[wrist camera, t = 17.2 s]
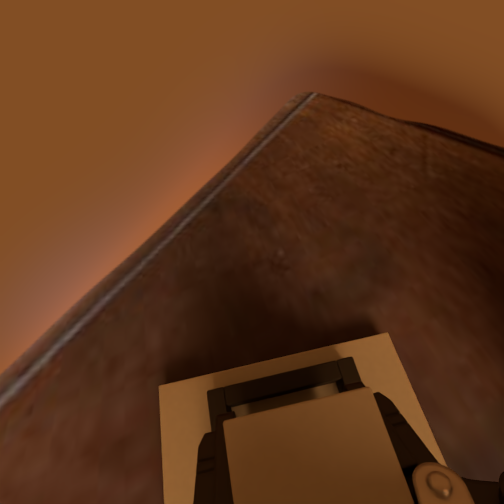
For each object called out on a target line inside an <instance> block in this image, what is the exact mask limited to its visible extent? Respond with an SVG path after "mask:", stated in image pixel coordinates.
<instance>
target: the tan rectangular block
mask: <svg viewBox="0 0 504 504" xmlns="http://www.w3.org/2000/svg"><path fill="white" fill-rule="evenodd" d="M223 428H224V436H225V443H226V450H227V458H228V465H229V472H230V480H231V487H232V494H233V502H234V504H414V501H413V498H412V496H411V493H410V490H409V488H408V485H407V482H406V480H405V477H404V474H403V472H402V469H401V466H400V464H399V461H398V459H397V456H396V453H395V451H394V448H393V445H392V443H391V440H390V437H389V435H388V432H387V429H386V427H385V424H384V421H383V419H382V416H381V413H380V411H379V408H378V405H377V403H376V400H375V397H374V395H373V392H372V389H371V388H370V387H368V386H367V387H363V388H359V389H355V390H350V391H346V392H342V393H338V394H334V395H330V396H325V397H321V398H317V399H313V400H309V401H304V402H300V403H296V404H292V405H288V406H283V407H279V408H275V409H271V410H267V411H262V412H258V413H254V414H250V415H246V416H242V417H237V418H233V419H229V420H225V421H224V422H223Z"/></svg>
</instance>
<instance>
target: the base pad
mask: <svg viewBox="0 0 504 504" xmlns="http://www.w3.org/2000/svg"><path fill="white" fill-rule="evenodd" d="M359 381H361V382H363V384H364V385H365V387H367V386H368V387H370V388H371V389H372V392H373V393H376V392H380V393H381V394H383V395H384V396H386V397H387V398H389V399H390V400H391V401H392V402H393V403H394V405H395V406H396V407H397V409H398V410H399V411H400V414H402V415H403V416H404V418H405V419H406V420H407V423H409V424H410V426H411V427H412V428H413V430H414V431H415V432H416V434H417V435H418V436H419V438H420V439H421V440H422V441H423V443H424V444H425V445H426V447H427V448H428V449H429V451H430V452H431V453H432V455H433V456H434V457H435V459H436V460H437V461H438V462H439V463H440V464H442V465H444V466H446V467H447V465H446V463H445V461H444V459H443V456H442V454H441V452H440V450H439V447H438V445H437V443H436V441H435V438H434V436H433V434H432V432H431V429H430V427H429V425H428V422H427V420H426V418H425V416H424V413H423V411H422V409H421V407H420V404H419V402H418V400H417V398H416V395H415V393H414V391H413V389H412V386H411V384H410V382H409V380H408V377H407V375H406V373H405V370H404V368H403V366H402V364H401V361H400V359H399V357H398V355H397V352H396V350H395V348H394V346H393V343H392V341H391V339H390V337H389V334H388V333H387V332H386V333H382V334H378V335H374V336H369V337H365V338H361V339H356V340H352V341H348V342H344V343H339V344H335V345H331V346H327V347H322V348H318V349H314V350H309V351H305V352H301V353H297V354H292V355H288V356H284V357H280V358H275V359H271V360H267V361H262V362H258V363H254V364H250V365H245V366H241V367H237V368H233V369H228V370H224V371H220V372H215V373H211V374H207V375H203V376H198V377H194V378H190V379H186V380H181V381H177V382H173V383H168V384H164V385H160V386H159V402H160V424H161V446H162V468H163V489H164V504H193V501H194V490H195V478H196V466H197V455H198V446H199V444H200V442H201V440H202V438H203V436H204V434H205V433H208V432H212V431H215V422H216V415H219V414H223V413H227V412H232V411H234V412H235V414H236V418H237V417H242V416H246V415H250V414H254V413H258V412H262V411H267V410H271V409H275V408H279V407H283V406H288V405H292V404H296V403H300V402H304V401H309V400H313V399H317V398H321V397H325V396H330V395H334V394H338V393H342V392H343V385H346V384H350V383H355V382H359Z"/></svg>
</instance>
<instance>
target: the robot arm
mask: <svg viewBox="0 0 504 504" xmlns="http://www.w3.org/2000/svg"><path fill="white" fill-rule="evenodd" d="M363 387H365V385H364V384H363V382H361V381H359V382H355V383H350V384H346V385H343V392H346V391H350V390H355V389H359V388H363ZM373 395H374V397H375V400H376V403H377V405H378V408H379V411H380V413H381V416H382V419H383V421H384V424H385V427H386V429H387V432H388V435H389V437H390V440H391V443H392V445H393V448H394V451H395V453H396V456H397V459H398V461H399V464H400V466H401V469H402V472H403V474H404V477H405V480H406V482H407V485H408V488H409V490H410V493H411V496H412V498H413V501H414V504H504V472H503V473H502V474H501V475H500V477H499V482H490V481H479V480H471V479H466V478H463V477H460V476H459V475H458V474H457V473H455V472H454V471H453V470H451V469H450V468H448V467H446V466H444V465H442V464H440V463H439V462H438V461H437V460H436V459H435V457H434V456H433V455H432V453H431V452H430V451H429V449H428V448H427V447H426V445H425V444H424V443H423V441H422V440H421V439H420V438H419V436H418V435H417V434H416V432H415V431H414V430H413V428H412V427H411V426H410V424H409V423H407V420H406V419H405V418H404V416H403V415H402V414H400V411H399V410H398V409H397V407H396V406H395V405H394V403H393V402H392V401H391V400H390V399H389V398H387V397H386V396H384V395H383V394H381V393H380V392H376V393H373ZM233 418H236V414H235V412H234V411H232V412H227V413H223V414H219V415H216V422H215V431H212V432H208V433H205V434H204V436H203V438H202V440H201V442H200V444H199V446H198V455H197V466H196V478H195V490H194V501H193V504H234V502H233V494H232V487H231V480H230V472H229V465H228V458H227V450H226V443H225V436H224V428H223V422H224V421H225V420H229V419H233Z"/></svg>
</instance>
